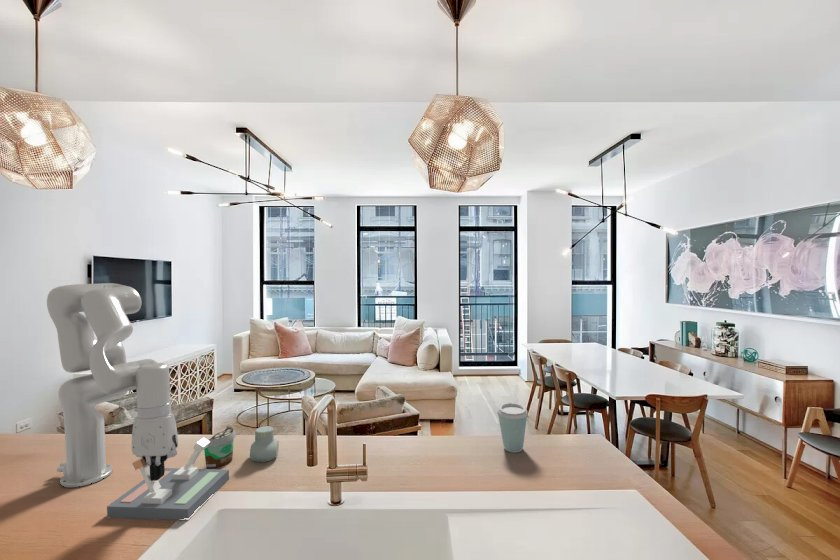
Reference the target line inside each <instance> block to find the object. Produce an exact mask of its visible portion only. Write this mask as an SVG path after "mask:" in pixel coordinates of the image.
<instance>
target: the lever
mask: <svg viewBox="0 0 840 560" xmlns="http://www.w3.org/2000/svg"><path fill="white" fill-rule="evenodd" d="M208 440H209V439H207V438H206V437H202V438H201V439H199V440H197V442H196V443H195V444H194V446H193V449H194V451H193V453H192V454H191V456H190V458H189V459H188V461H187V462H186V464H185V465H184V466H183V467H184V470H186V471H188V470H189V469H190V468H191V467H194V465H195V462H196V461H197V460H198V458H199V456H200V454H201V453H202V452H204V449H205V448H207V446H208V445H209V443H210V441H208Z"/></svg>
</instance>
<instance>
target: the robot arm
mask: <svg viewBox="0 0 840 560" xmlns="http://www.w3.org/2000/svg"><path fill="white" fill-rule="evenodd" d="M142 304H143V303H142V297H141V295H140V294H139V292H138V291H137V290H136V289H135V288H133V287H132V286H129V285H128V286H127V285H124V284H121V283H113V282H111V283H110V282H104V283H103V282H102V283H78V284H66V285H59V286H57V287H54V288H52V289H51V290H50V291H49V292H48V295H47V298H46V307H47V311H48V314H49V317H50V319H51V320H52V323H53V324H54V326H55V329H56V333H57V342H58V349H59V355H60V361H61V366H62V369H63V370H64V371H65V372H66V373H70V374H72V373H73V374H74V373H75V374H76V373H77V374H78V373H82V372H83V373H84V372H87V371H90V372H91V374H86V375H81V376H76V377H73V378H70V379H68V380H67V381H65V382H63V383H62V384H61V385H60V386H59V390H58V399H59V403H60V406H61V411H62V414H63V416H62V417H63V424H64V441H65V444H64V445H65V461H63V462H61V463H60V464H59V466H58V467H57V468H56V470H55V471H56V472H57V473H63V476H62V477H61V478H60V479H59V483H60V484H61V485H62V486H61V485H60V484H59V485H60V486H61V487H63V486H64V488H79V486H80V487H84V486H88V485H92V484H94V483H97V482H99V481H102V480H104V479H105V478H107V477H108V476H109V475H111V474H112V472H113V465H111V464H109V463H107V460H106V459H107V458H106V457H107V456H106V455H107V454H106V433H105V432H106V431H105V418H104V415H103V414H102V412H100V411H99V410H97V409H96V408H95V406H97V405H100V404H103V403H107V402H110V401H113V400H117V399H120V398H123V397H124V396H126V395H127V393H128V392H130V391H136V406H134V409H133V411H134V412H136V414H137V416H136V417H134V420H133V424H132V429H131V430H132V432H131V452H132V454H133V455H134V456H135V457H137V458H139V459H140V458H143V459H144V460H145V461H146V462H147V465H148V466H150V479H151V481H153V480H155V481H157V480H159V479H160V478H161V477H162V476H164V473H165V468H166V467H165V462H166V461H167V459H171V458H173V457H176V456H177V455H178V450H177V448H178V446H179V445H178V444H179V437H178V435H179V434H178V429H177V424H176V418H175V415H174V413H173V412H172V406H171V405H172V401H171V400H172V399H171V398H172V397H171V377H170V367H169V365H168V364H166V363H163V362H157V361H156V360H155V359H151V358H145V359H141V360H135V361H130V362H127V357H126V350H125V347H124V345H123V342H124V341H125V340H126V339H128V338H129V337H130V336H131V335H132V333H133V331H134V328H133V325H132V322H131V321H130V320H129V317H128V316H127V315H132V314H136V313H138V312H139V311H140V310H141V307H142ZM82 313H84V314H85V315H84V314H82ZM95 336H96V338H95ZM103 478H104V479H103ZM91 483H92V484H91Z"/></svg>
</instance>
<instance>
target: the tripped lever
mask: <svg viewBox="0 0 840 560" xmlns="http://www.w3.org/2000/svg"><path fill="white" fill-rule="evenodd" d="M132 466H133V468H134V470H135V471H137V470H139V471H140V473H141V475H142V478H143V480H145V482H146V484H147V486H148V488H149V490H150V492H151V493H153V492H155V491H157V490H158V489H159V488H160V487H161V485H160V483H159V481H158V480H157V481H155V480H153V481H151V479H150V466H148V465H147V462H146V461H145V460H144V459H143V458H140V457H139V458H138V459H136V460H135V461H133V462H132Z"/></svg>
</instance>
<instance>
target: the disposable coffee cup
mask: <svg viewBox="0 0 840 560" xmlns="http://www.w3.org/2000/svg"><path fill="white" fill-rule="evenodd" d="M496 414H497V415H498V421H499V422H498V423H499V427H500V428H499V429H500V432H501V437H502V438H501V439H502V445H503V448H504V449H505V451H506V452H509V453H520V452H522V451H523V449H524V443H525V436H526V435H525V433H526V425H527V418H528V410H527V408H526V407H525V406H524V405H523V404H520V403H518V402H503V403H502V404H500V405H499V406H498V409H497V413H496Z"/></svg>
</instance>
